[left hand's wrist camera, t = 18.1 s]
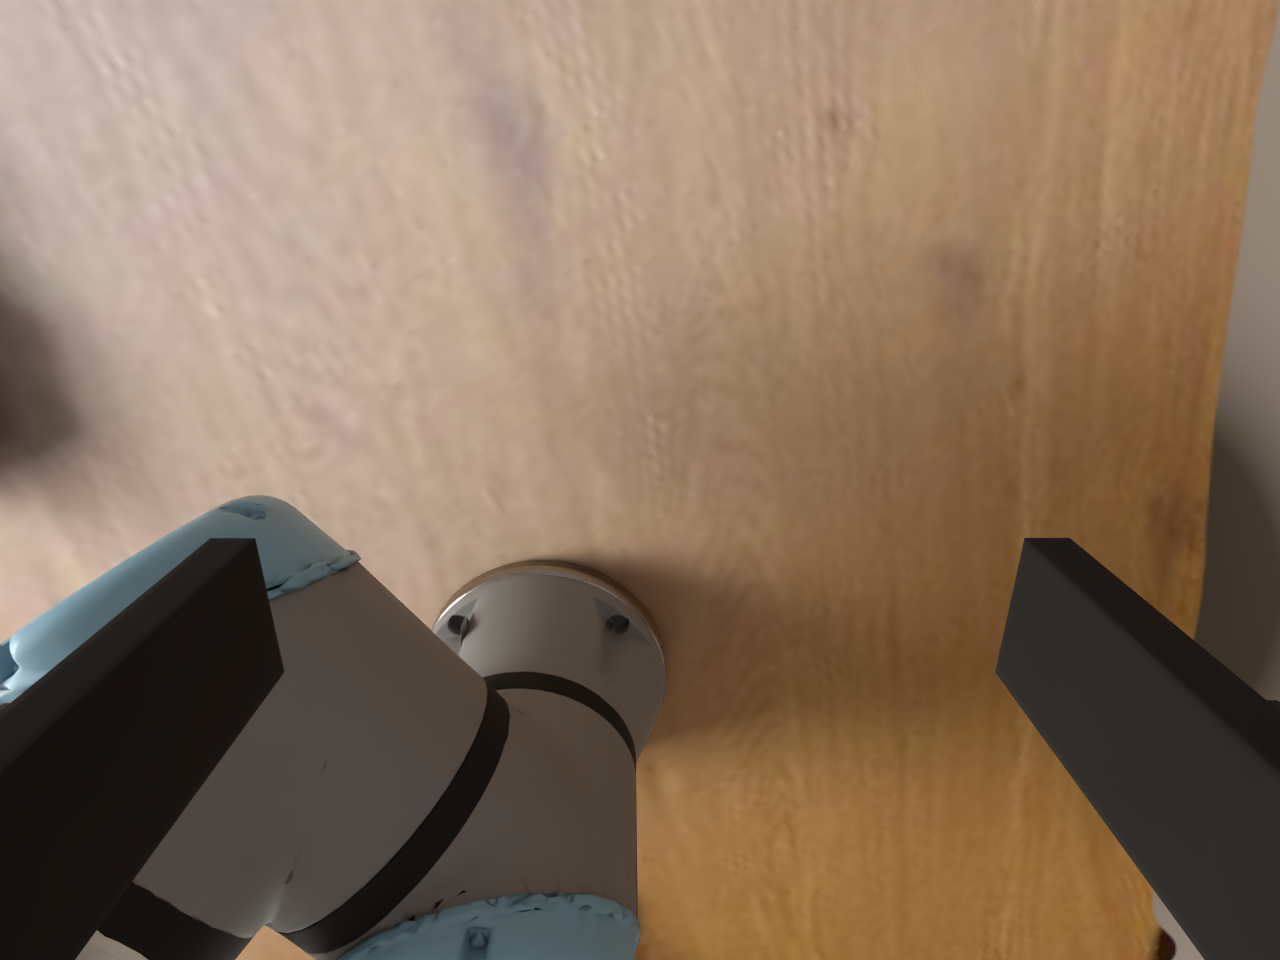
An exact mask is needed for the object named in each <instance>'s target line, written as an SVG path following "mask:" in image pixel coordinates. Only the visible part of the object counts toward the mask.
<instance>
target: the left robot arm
mask: <svg viewBox="0 0 1280 960" xmlns="http://www.w3.org/2000/svg"><path fill="white" fill-rule="evenodd" d="M360 559H361V557H360V556H359V555H358V554H357V553H356V552H355V551H351V550H345V549H344V548H343V547H341V546H340V545H339V544H338V543H337V542H335V541H334V540H333V539H332V538H331V537H329V536H328V535H327V534H326V533H325V532H323V531H322V530H321V529H320V528H319V527H317V526H316V525H315V524H314V523H312V522H311V521H310V520H309V519H308V518H307V517H305V516H304V515H303V514H302V513H301V512H299V511H298V510H297V509H296V508H295V507H293V506H292V505H290V504H289V503H287V502H285V501H283V500H280V499H278V498H274V497H269V496H246V497H242V498H238V499H235V500H232V501H229V502H227V503H225V504H222V505H220V506H218V507H216V508H214V509H212V510H210V511H208V512H207V513H205V514H203V515H201V516H199V517H198V518H196V519H194V520H192V521H191V522H189V523H187V524H185V525H184V526H182V527H180V528H178V529H177V530H175V531H173V532H171V533H170V534H168V535H166V536H165V537H163V538H161V539H160V540H158V541H156V542H155V543H153V544H151V545H150V546H148V547H146V548H145V549H143V550H142V551H140V552H138V553H137V554H135V555H133V556H132V557H130V558H129V559H127V560H125V561H124V562H122V563H120V564H119V565H117V566H116V567H114V568H113V569H111V570H109V571H108V572H106V573H105V574H103V575H101V576H100V577H98V578H97V579H95V580H94V581H92V582H90V583H89V584H87V585H86V586H84V587H83V588H81V589H80V590H78V591H77V592H75V593H74V594H72V595H70V596H69V597H67V598H66V599H64V600H63V601H61V602H60V603H58V604H57V605H55V606H54V607H52V608H51V609H49V610H48V611H46V612H45V613H43V614H42V615H40V616H39V617H37V618H36V619H34V620H33V621H32V622H30V623H29V624H27V625H26V626H24V627H23V628H22V629H20V630H19V631H17V632H16V633H15V634H14V636H13V637H11V638H9V639H7V640H6V641H4V642H3V643H2V644H0V960H235V959H236V958H237V957H238V955H239V954H240V953H241V952H242V951H243V949H244V948H245V947H246V946H247V944H248V943H249V942H250V941H251V939H252V938H253V937H254V936H255V934H256V933H257V932H258V931H259V930H260V929H261V928H262V927H263V926H265V925H266V926H268V927H269V928H271V929H273V930H275V931H276V932H278V933H280V934H281V935H282V936H284V937H285V938H287V939H288V940H290V941H291V942H292V943H294V944H295V945H297V946H298V947H300V948H301V949H302V950H303V951H304V952H306V953H307V954H309V955H310V956H312V957H313V958H315V959H316V960H634V956H635V951H636V949H637V945H638V942H639V940H640V926H639V921H638V911H637V822H636V762H637V760H638V758H639V756H640V754H641V752H642V749H643V747H644V745H645V743H646V741H647V739H648V737H649V734H650V732H651V730H652V728H653V726H654V724H655V722H656V719H657V717H658V715H659V712H660V709H661V706H662V702H663V699H664V694H665V686H666V671H665V655H664V648H663V644H662V640H661V637H660V634H659V632H658V629H657V627H656V625H655V623H654V621H653V620H652V618H651V616H650V615H649V613H648V612H647V611H646V609H645V608H644V607H643V606H642V604H641V603H640V602H639V601H638V600H637V599H636V598H635V597H634V596H633V595H632V594H631V593H630V592H628V591H627V590H626V589H625V588H623V587H622V586H621V585H619V584H618V583H616V582H615V581H613V580H611V579H610V578H608V577H606V576H604V575H602V574H600V573H597V572H595V571H592V570H590V569H587V568H584V567H581V566H577V565H573V564H568V563H562V562H555V561H528V562H520V563H514V564H510V565H505V566H502V567H499V568H496V569H493V570H491V571H489V572H486V573H484V574H482V575H480V576H478V577H477V578H475V579H473V580H472V581H470V582H469V583H467V584H466V585H464V586H463V587H462V588H461V589H460V590H458V591H457V592H456V593H455V594H454V595H453V596H452V597H451V598H450V600H449V601H448V602H447V603H446V605H445V606H444V607H443V609H442V610H441V612H440V614H439V616H438V617H437V619H436V621H435V624H434V626H433V628H432V630H430V629H429V628H428V627H427V626H426V625H425V624H424V623H423V622H422V621H421V620H420V619H419V618H417V617H416V616H415V615H414V614H413V613H412V612H411V611H410V610H409V609H408V608H407V607H406V606H405V605H404V604H403V603H401V602H400V601H399V600H398V599H397V598H396V597H395V596H394V595H393V594H392V593H391V592H390V591H389V590H388V589H387V588H386V587H384V586H383V585H382V584H381V583H380V582H379V581H378V580H377V579H376V578H375V577H374V576H373V575H372V574H371V573H370V572H369V571H367V570H366V569H365V568H364V567H363V566H362V565H361V564H360V563H359V562H358V561H359V560H360ZM996 674H997V675H998V676H999V678H1000V679H1001V680H1002V682H1003V683H1004V685H1005V686H1006V687H1007V689H1008V690H1009V691H1010V693H1011V694H1012V696H1013V697H1014V698H1015V700H1016V701H1017V702H1018V704H1019V705H1020V707H1021V708H1022V709H1023V711H1024V712H1025V713H1026V715H1027V716H1028V718H1029V719H1030V720H1031V722H1032V723H1033V724H1034V726H1035V727H1036V729H1037V730H1038V731H1039V733H1040V734H1041V735H1042V737H1043V738H1044V740H1045V741H1046V742H1047V744H1048V745H1049V746H1050V748H1051V749H1052V751H1053V752H1054V753H1055V755H1056V756H1057V757H1058V759H1059V760H1060V762H1061V763H1062V764H1063V766H1064V767H1065V768H1066V770H1067V771H1068V773H1069V774H1070V775H1071V777H1072V778H1073V779H1074V781H1075V782H1076V784H1077V785H1078V786H1079V788H1080V789H1081V790H1082V792H1083V793H1084V795H1085V796H1086V797H1087V799H1088V800H1089V801H1090V803H1091V804H1092V806H1093V807H1094V808H1095V810H1096V811H1097V812H1098V814H1099V815H1100V816H1101V818H1102V819H1103V821H1104V822H1105V823H1106V825H1107V826H1108V827H1109V829H1110V830H1111V832H1112V833H1113V834H1114V836H1115V837H1116V838H1117V840H1118V841H1119V843H1120V844H1121V845H1122V847H1123V848H1124V849H1125V851H1126V852H1127V854H1128V855H1129V856H1130V858H1131V859H1132V860H1133V862H1134V863H1135V865H1136V866H1137V867H1138V869H1139V870H1140V871H1141V873H1142V874H1143V876H1144V877H1145V878H1146V880H1147V881H1148V882H1149V884H1150V885H1151V887H1152V888H1153V889H1154V891H1155V892H1156V893H1157V895H1158V896H1159V898H1160V899H1161V900H1162V902H1163V903H1164V904H1165V906H1166V907H1167V909H1168V910H1169V911H1170V913H1171V914H1172V915H1173V917H1174V918H1175V920H1176V921H1177V922H1178V924H1179V925H1180V926H1181V928H1182V929H1183V931H1184V932H1185V933H1186V935H1187V936H1188V937H1189V939H1190V940H1191V941H1192V943H1193V944H1194V946H1195V947H1196V948H1197V950H1198V951H1199V953H1200V954H1201V955H1202V957H1203V958H1204V959H1205V960H1280V702H1279V701H1277V700H1272V701H1271V700H1269V701H1268V700H1265V699H1264V698H1263V697H1262V696H1260V695H1259V694H1258V693H1257V692H1256V691H1254V690H1253V689H1252V688H1251V687H1250V686H1248V685H1247V684H1246V683H1245V682H1243V681H1242V680H1241V679H1240V678H1239V677H1237V676H1236V675H1235V674H1234V673H1233V672H1231V671H1230V670H1229V669H1228V668H1226V667H1225V666H1224V665H1223V664H1222V663H1220V662H1219V661H1218V660H1217V659H1215V658H1214V657H1213V656H1212V655H1211V654H1209V653H1208V652H1207V651H1206V650H1205V649H1203V648H1202V647H1201V646H1200V645H1199V644H1197V643H1196V642H1195V641H1194V640H1193V639H1191V638H1190V637H1189V636H1188V635H1186V634H1185V633H1184V632H1183V631H1182V630H1180V629H1179V628H1178V627H1177V626H1176V625H1174V624H1173V623H1172V622H1171V621H1170V620H1168V619H1167V618H1166V617H1165V616H1163V615H1162V614H1161V613H1160V612H1159V611H1157V610H1156V609H1155V608H1154V607H1153V606H1151V605H1150V604H1149V603H1148V602H1146V601H1145V600H1144V599H1143V598H1142V597H1140V596H1139V595H1138V594H1137V593H1136V592H1134V591H1133V590H1132V589H1131V588H1129V587H1128V586H1127V585H1126V584H1125V583H1123V582H1122V581H1121V580H1120V579H1119V578H1117V577H1116V576H1115V575H1114V574H1113V573H1111V572H1110V571H1109V570H1108V569H1106V568H1105V567H1104V566H1103V565H1102V564H1100V563H1099V562H1098V561H1097V560H1096V559H1094V558H1093V557H1092V556H1091V555H1089V554H1088V553H1087V552H1086V551H1085V550H1083V549H1082V548H1081V547H1080V546H1079V545H1077V544H1076V543H1075V542H1074V541H1073V540H1071V539H1070V538H1025V539H1024V543H1023V548H1022V553H1021V557H1020V562H1019V566H1018V571H1017V575H1016V580H1015V585H1014V589H1013V594H1012V598H1011V603H1010V608H1009V612H1008V617H1007V621H1006V626H1005V631H1004V635H1003V640H1002V644H1001V649H1000V653H999V658H998V663H997V667H996Z"/></svg>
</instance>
